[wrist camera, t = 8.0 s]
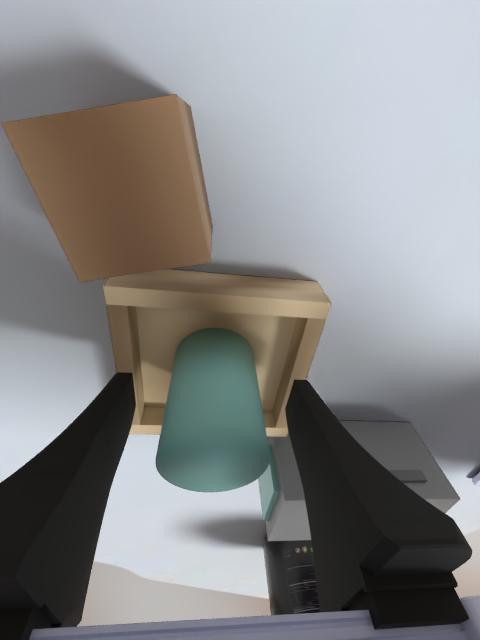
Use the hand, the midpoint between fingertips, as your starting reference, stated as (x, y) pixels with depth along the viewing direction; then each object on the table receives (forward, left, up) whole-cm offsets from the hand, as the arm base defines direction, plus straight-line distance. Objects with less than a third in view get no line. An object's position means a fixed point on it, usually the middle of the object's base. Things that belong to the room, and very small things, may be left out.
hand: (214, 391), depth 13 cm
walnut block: (+3, -8, -3) cm, 9 cm away
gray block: (-9, +8, -3) cm, 12 cm away
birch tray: (0, 0, -3) cm, 3 cm away
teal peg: (0, 0, -2) cm, 2 cm away
